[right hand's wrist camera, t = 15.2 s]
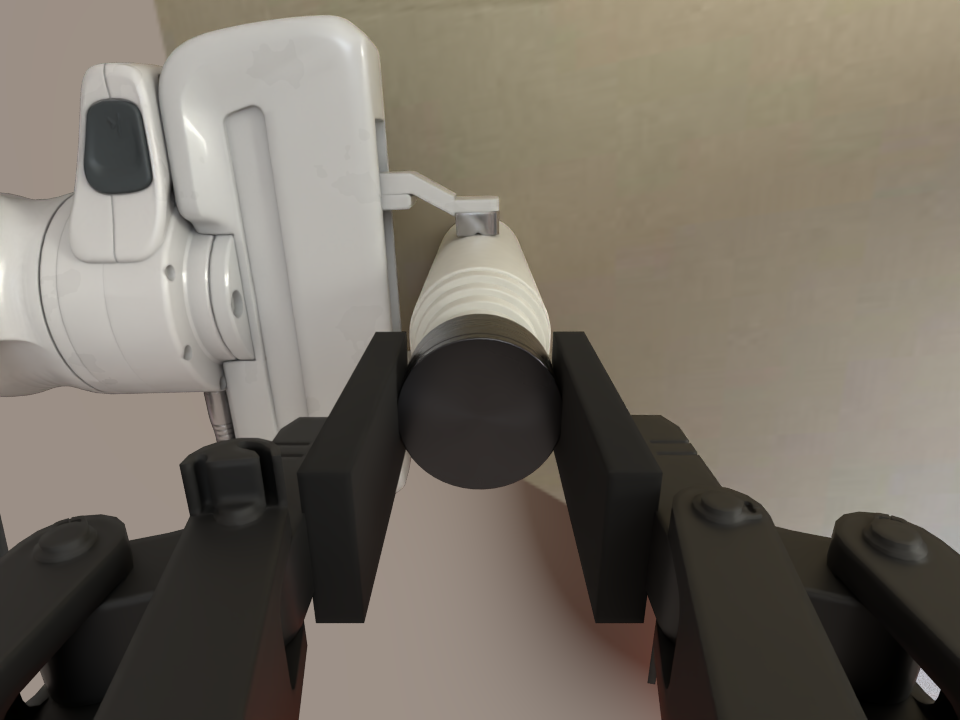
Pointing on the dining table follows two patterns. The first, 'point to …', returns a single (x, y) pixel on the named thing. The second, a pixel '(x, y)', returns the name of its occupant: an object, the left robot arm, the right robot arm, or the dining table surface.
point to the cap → (479, 403)
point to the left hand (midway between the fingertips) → (500, 282)
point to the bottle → (480, 285)
